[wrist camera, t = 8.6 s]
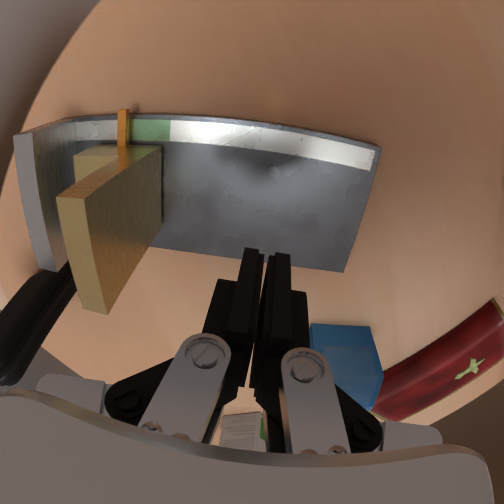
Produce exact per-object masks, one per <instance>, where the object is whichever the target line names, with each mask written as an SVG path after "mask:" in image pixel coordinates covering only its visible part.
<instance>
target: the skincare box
mask: <svg viewBox="0 0 504 504" xmlns="http://www.w3.org/2000/svg"><path fill="white" fill-rule="evenodd" d="M219 446H221V447H227V448H234V449H241V450H250V451H259V452H266V444H265V432H264V421H263V415H262V414H261V413H260V412H255V413H247V414H237V415H226V416H223V423H222V429H221V435H220V442H219Z"/></svg>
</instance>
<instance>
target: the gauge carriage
mask: <svg viewBox="0 0 504 504" xmlns="http://www.w3.org/2000/svg"><path fill="white" fill-rule="evenodd" d="M161 158H162V146H160V145H132V144H129V109H120V110H118V120H117V144H97V145H95V146H93V147H91V148H88V149H86V150H84V151H82V152H80V153H78V154H76V155H74V156H73V159H74V171H75V181H76V183H75V184H74V185H72V186H71V187H69V188H68V189H66V190H65V191H63V192H62V193H61V194H59V195H58V196H56V202H57V208H58V213H59V219H60V224H61V229H62V234H63V238H64V243H65V247H66V251H67V255H68V259H69V263H70V267H71V270H72V274H73V277H74V281H75V284H76V287H77V291H78V294H79V297H80V300H81V303H82V306H83V309H86V310H90V311H94V312H98V313H102V314H106V315H108V314H109V312H110V310H111V309H112V307H113V305H114V303H115V302H116V300H117V298H118V296H119V295H120V293H121V291H122V290H123V288H124V286H125V284H126V283H127V281H128V280H129V278H130V276H131V275H132V273H133V271H134V270H135V268H136V266H137V265H138V263H139V262H140V260H141V258H142V257H143V255H144V254H145V252H146V251H147V249H148V248H149V246H150V244H151V243H152V241H153V240H154V238H155V237H156V235H157V234H158V232H159V231H160V229H161V228H162V216H161Z"/></svg>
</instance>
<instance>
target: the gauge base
mask: <svg viewBox="0 0 504 504" xmlns="http://www.w3.org/2000/svg"><path fill="white" fill-rule="evenodd" d="M117 120H118V114H104V115H89V116H78V117H68V118H63V119H60V120H57V121H53V122H50V123H47V124H44V125H41V126H38V127H35V128H32V129H30V130H27V131H24V132H21V133H19V134H16V135H14V136H13V138H14V139H13V140H14V151H15V161H16V169H17V176H18V183H19V189H20V194H21V200H22V205H23V210H24V214H25V219H26V223H27V227H28V231H29V235H30V239H31V242H32V246H33V249H34V253H35V256H36V259H37V263H38V266H39V268H41V269H45V270H49V271H53V272H58V271H59V270H60V269H61V268H62V267H63V265H64V264H65V263H66V262H67V261H68V260H69V259H68V255H67V251H66V247H65V243H64V238H63V234H62V229H61V224H60V219H59V213H58V208H57V202H56V196H58V195H59V194H61V193H62V192H63V191H65V190H66V189H68V188H69V187H71V186H72V185H74V184H75V183H76V181H75V171H74V159H73V156H74V155H76V154H78V153H80V152H82V151H84V150H86V149H88V148H91V147H93V146H95V145H97V144H117ZM129 144H132V145H160V146H162V158H161V216H162V228H161V229H160V231H159V232H158V234H157V235H156V237H155V238H154V240H153V241H152V243H151V244H150V247H157V248H164V249H171V250H178V251H185V252H193V253H200V254H207V255H214V256H222V257H229V258H236V259H242V257H243V253H244V248H245V247H248V248H254V249H259V253H260V254H265V255H264V262H266V263H268V258H269V255H273V256H274V255H275V252H279V253H286V254H290V259H291V266H296V267H304V268H311V269H319V270H327V271H335V272H344V269H345V266H346V264H347V261H348V258H349V255H350V252H351V249H352V247H353V244H354V241H355V238H356V235H357V232H358V229H359V226H360V223H361V219H362V216H363V213H364V210H365V207H366V203H367V200H368V197H369V193H370V190H371V186H372V183H373V179H374V175H375V172H376V168H377V164H378V160H379V157H380V153H381V149H382V148H381V147H379V146H378V145H375V144H372V143H368V142H364V141H360V140H356V139H352V138H348V137H344V136H340V135H336V134H331V133H327V132H322V131H317V130H312V129H307V128H301V127H296V126H290V125H284V124H278V123H271V122H264V121H257V120H249V119H241V118H231V117H221V116H208V115H193V114H167V113H129Z"/></svg>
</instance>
